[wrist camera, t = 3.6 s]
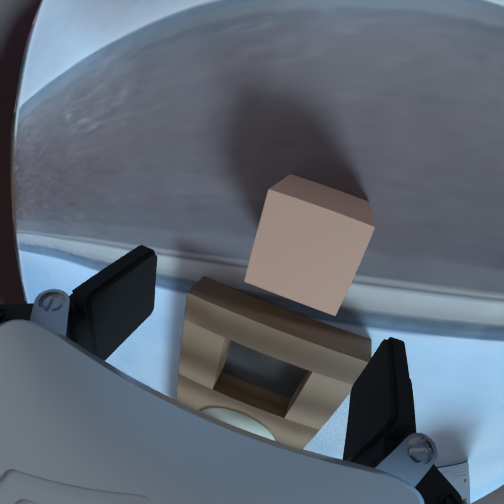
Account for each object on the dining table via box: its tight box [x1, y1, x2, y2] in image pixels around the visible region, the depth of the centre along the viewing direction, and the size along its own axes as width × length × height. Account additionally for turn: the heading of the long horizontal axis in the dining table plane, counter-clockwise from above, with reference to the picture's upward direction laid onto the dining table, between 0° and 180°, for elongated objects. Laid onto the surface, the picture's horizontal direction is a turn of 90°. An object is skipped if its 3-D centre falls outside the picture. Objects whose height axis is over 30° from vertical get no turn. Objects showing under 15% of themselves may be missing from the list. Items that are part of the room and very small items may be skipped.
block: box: [244, 174, 375, 316], centre depth 19 cm, size 6×6×6 cm
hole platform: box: [176, 277, 371, 449], centre depth 29 cm, size 24×16×3 cm, turn 166°
